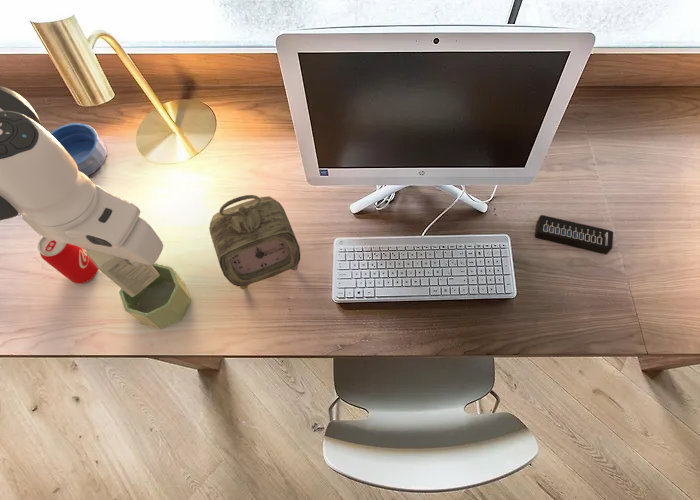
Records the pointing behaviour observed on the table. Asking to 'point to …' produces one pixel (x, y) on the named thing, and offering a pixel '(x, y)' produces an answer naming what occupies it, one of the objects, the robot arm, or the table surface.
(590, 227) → the multiport hub
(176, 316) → the green octagonal planter
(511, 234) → the table surface
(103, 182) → the table surface
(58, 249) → the beverage can
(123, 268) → the cosmetic box
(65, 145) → the bowl
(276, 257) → the tabletop clock
